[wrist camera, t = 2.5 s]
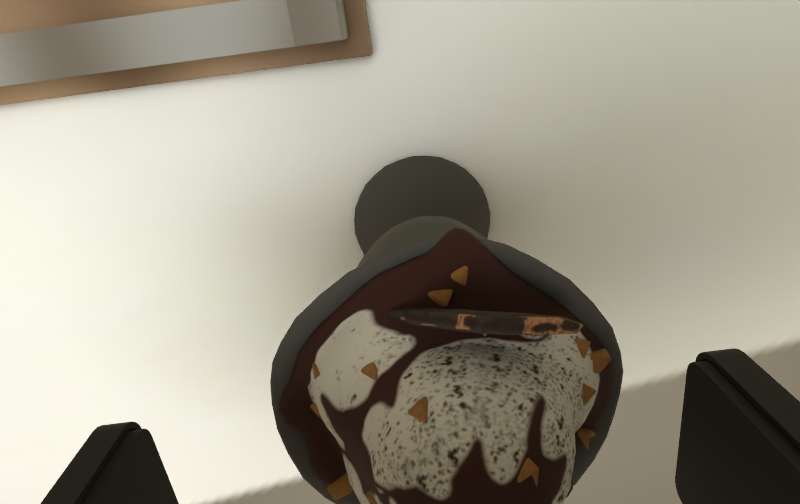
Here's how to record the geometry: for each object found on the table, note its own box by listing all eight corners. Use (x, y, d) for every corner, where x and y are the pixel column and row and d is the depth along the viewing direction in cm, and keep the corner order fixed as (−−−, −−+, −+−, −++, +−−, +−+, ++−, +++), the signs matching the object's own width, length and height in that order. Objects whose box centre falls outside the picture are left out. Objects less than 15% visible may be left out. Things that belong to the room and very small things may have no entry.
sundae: (417, 332, 21) (458, 917, 7) (294, 217, 19) (26, 722, 5) (550, 228, 19) (939, 738, 5) (429, 89, 17) (566, 340, 3)
